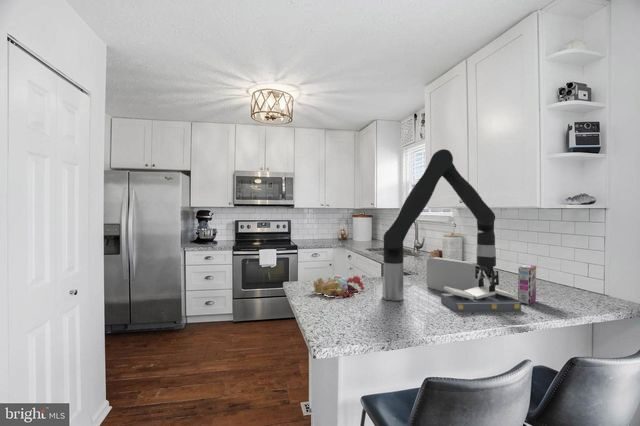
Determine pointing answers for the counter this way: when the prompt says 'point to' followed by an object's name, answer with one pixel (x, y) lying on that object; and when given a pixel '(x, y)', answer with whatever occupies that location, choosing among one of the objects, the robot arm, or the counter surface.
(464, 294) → the rocker
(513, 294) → the rocker
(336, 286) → the colourful mixed pile
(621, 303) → the counter surface
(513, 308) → the tray
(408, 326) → the counter surface
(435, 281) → the upright grey rectangular panel
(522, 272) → the candy bar box
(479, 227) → the robot arm
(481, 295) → the rocker
